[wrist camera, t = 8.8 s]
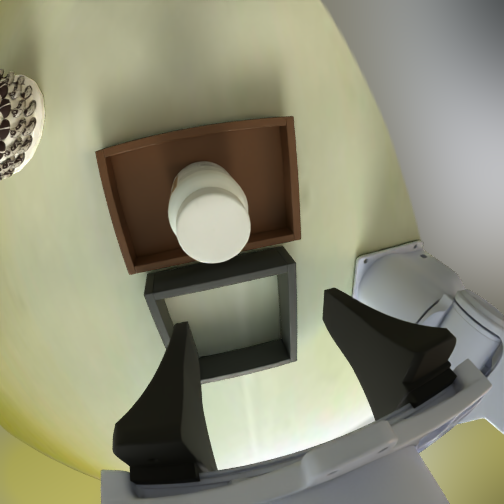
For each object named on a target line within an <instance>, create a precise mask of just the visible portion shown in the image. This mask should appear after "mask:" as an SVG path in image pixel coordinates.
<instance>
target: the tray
mask: <svg viewBox="0 0 504 504" xmlns="http://www.w3.org/2000/svg"><path fill="white" fill-rule="evenodd" d="M95 153H96V158H97V163H98V168H99V172H100V177H101V181H102V185H103V189H104V194H105V197H106V201H107V205H108V209H109V213H110V216H111V220H112V223H113V227H114V230H115V233H116V237H117V240H118V243H119V246H120V249H121V252H122V255H123V258H124V261H125V264H126V267H127V270H128V273H129V275H132V274H136V273H141V272H146V271H151V270H155V269H160V268H165V267H170V266H175V265H179V264H184V263H189V262H194V261H197V260H195V259H193V258H192V257H190V256H189V255H188V254H186V253H185V252H184V250H183V249H182V247H181V246H180V244H179V242H178V239H177V236H176V235H175V233H174V232H173V230H172V228H171V225H170V222H169V217H168V207H169V199H170V194H171V189H172V185H173V182H174V179H175V178H176V176H177V175H178V173H179V172H180V171H181V170H182V169H183V168H185V167H186V166H188V165H190V164H192V163H195V162H200V161H207V162H212V163H215V164H217V165H219V166H221V167H222V168H224V169H225V170H226V171H227V172H228V173H229V175H230V176H231V177H232V178H233V179H234V180H235V181H236V182H237V184H238V185H239V186H240V187H241V189H242V190H243V192H244V194H245V196H246V199H247V202H248V215H249V218H250V223H251V231H250V236H249V239H248V241H247V243H246V245H245V246H244V248H243V249H242V250H241V251H240V252H242V251H247V250H252V249H256V248H261V247H266V246H271V245H276V244H281V243H286V242H290V241H295V240H300V239H301V225H300V202H299V183H298V167H297V153H296V140H295V128H294V117H293V116H288V117H272V118H260V119H250V120H241V121H232V122H225V123H218V124H211V125H205V126H199V127H193V128H187V129H182V130H177V131H172V132H167V133H162V134H158V135H153V136H149V137H145V138H141V139H137V140H133V141H129V142H125V143H122V144H118V145H114V146H111V147H108V148H104V149H101V150H98V151H96V152H95Z"/></svg>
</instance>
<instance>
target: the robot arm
mask: <svg viewBox="0 0 504 504" xmlns="http://www.w3.org/2000/svg"><path fill="white" fill-rule="evenodd" d="M365 259H366V260H365ZM364 260H365V261H364ZM323 321H324V323H325V325H326V328H327V329H328V331H329V333H330V335H331V337H332V338H333V340H334V341H335V343H336V344H337V346H338V347H339V348H340V350H341V351H342V353H343V354H344V356H345V357H346V359H347V360H348V362H349V363H350V365H351V366H352V368H353V370H354V372H355V374H356V376H357V378H358V380H359V382H360V384H361V386H362V388H363V390H364V393H365V395H366V397H367V400H368V402H369V404H370V407H371V409H372V412H373V415H374V418H375V421H374V422H372V423H370V424H368V425H366V426H364V427H362V428H359V429H357V430H355V431H353V432H350V433H348V434H346V435H343V436H341V437H338V438H336V439H333V440H331V441H328V442H325V443H323V444H320V445H317V446H314V447H311V448H308V449H305V450H302V451H299V452H296V453H292V454H289V455H286V456H282V457H279V458H275V459H271V460H267V461H263V462H259V463H255V464H250V465H245V466H240V467H235V468H230V469H224V470H217V466H216V463H215V459H214V455H213V451H212V448H211V444H210V439H209V435H208V431H207V426H206V421H205V416H204V411H203V404H202V392H201V377H200V365H199V359H198V353H197V348H196V345H195V342H194V339H193V336H192V333H191V330H190V327H189V324H188V321H187V322H182V323H176V324H175V325H174V329H173V332H172V335H171V338H170V341H169V344H168V347H167V349H166V352H165V354H164V357H163V359H162V361H161V363H160V365H159V367H158V369H157V371H156V373H155V375H154V377H153V378H152V380H151V382H150V384H149V385H148V387H147V388H146V390H145V391H144V393H143V394H142V395H141V397H140V398H139V399H138V400H137V402H136V403H135V404H134V405H133V407H132V408H131V409H130V410H129V411H128V412H127V413H126V414H125V415H124V416H123V417H122V418H121V419H120V420H119V421H118V422H117V423H116V424H115V429H114V434H113V453H114V454H115V455H116V456H117V457H118V458H119V459H121V460H122V461H123V462H125V463H126V464H127V465H129V466H130V472H127V471H120V470H101V504H450V503H449V502H448V500H447V498H446V497H445V495H444V493H443V492H442V490H441V488H440V487H439V485H438V484H437V482H436V480H435V479H434V477H433V475H432V474H431V473H430V471H429V469H428V467H427V466H426V464H425V463H424V461H423V459H422V458H421V456H420V455H419V453H420V452H422V451H423V450H424V449H426V448H427V447H429V446H430V445H431V444H433V443H434V442H435V441H437V440H438V439H439V438H440V437H442V436H443V435H444V434H446V433H447V432H448V431H449V430H451V429H452V428H453V427H454V426H455V425H457V424H460V423H465V422H469V421H473V420H476V419H481V418H485V419H486V420H487V421H489V422H490V423H491V424H492V425H493V426H495V427H496V428H497V429H498V430H499V431H500V432H502V433H503V434H504V315H503V314H502V313H501V312H500V311H499V310H498V309H497V308H495V307H494V306H493V305H491V304H490V303H489V302H488V301H487V300H485V299H484V298H482V297H481V296H479V295H478V294H476V293H474V292H473V291H471V290H468V289H465V287H464V284H463V282H462V280H461V279H460V277H459V276H458V275H457V274H456V273H455V272H454V271H453V270H452V269H450V268H449V267H447V266H446V265H444V264H443V263H442V262H440V261H439V260H438V259H436V258H435V257H433V256H432V255H430V254H429V253H427V252H426V251H424V250H423V241H421V240H418V241H415V242H411V243H408V244H404V245H400V246H397V247H393V248H389V249H385V250H382V251H378V252H374V253H370V254H366V255H363V256H360V257H358V258H357V260H356V266H355V276H354V286H353V294H352V297H351V296H349V295H347V294H346V293H344V292H342V291H340V290H338V289H336V288H331V289H327V290H324V306H323Z"/></svg>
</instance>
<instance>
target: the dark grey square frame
mask: <svg viewBox="0 0 504 504" xmlns="http://www.w3.org/2000/svg"><path fill="white" fill-rule="evenodd" d="M273 275H277V278H278V292H279V308H280V324H281V339H279V340H275V341H271V342H267V343H264V344H260V345H256V346H251V347H247V348H243V349H239V350H235V351H230V352H226V353H221V354H216V355H211V356H207V357H202V358H198V359H199V365H200V377H201V384H205V383H210V382H215V381H220V380H225V379H229V378H234V377H238V376H242V375H247V374H251V373H255V372H259V371H263V370H266V369H270V368H274V367H278V366H281V365H285V364H288V363H290V362H295V361H297V285H296V262H295V261H294V260H293V258H292V257H291V256H290V255H289V253H288V252H287V251H286V250H285V248H284V247H283V246H281V247H276V248H271V249H267V250H262V251H257V252H252V253H247V254H243V255H238V256H234V257H233V258H231V259H229V260H227V261H224V262H220V263H199V264H195V265H190V266H185V267H180V268H175V269H171V270H166V271H161V272H156V273H151V274H147V279H146V285H145V291H144V297H145V299H146V302H147V304H148V307H149V310H150V312H151V315H152V317H153V319H154V322H155V324H156V327H157V329H158V331H159V334H160V336H161V338H162V341H163V343H164V345H165V348H166V349H167V347H168V344H169V341H170V338H171V335H172V332H173V329H174V326H173V323H172V320H171V318H170V315H169V312H168V309H167V306H166V304H165V301H164V299H165V298H170V297H175V296H180V295H185V294H190V293H195V292H200V291H204V290H209V289H214V288H219V287H223V286H228V285H232V284H237V283H242V282H246V281H251V280H255V279H260V278H264V277H268V276H273Z"/></svg>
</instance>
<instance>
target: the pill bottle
mask: <svg viewBox="0 0 504 504" xmlns="http://www.w3.org/2000/svg"><path fill="white" fill-rule="evenodd" d="M168 217H169V222H170V225H171V228H172V230H173V232H174V233H175V235H176V236H177V239H178V242H179V244H180V246H181V247H182V249H183V250H184V252H185V253H186V254H188V255H189V256H190V257H192V258H193V259H195V260H197V261H200V262H203V263H220V262H224V261H227V260H229V259H231V258H233V257H234V256H236V255H237V254H238V253H239V252H240V251H241V250H242V249H243V248H244V246H245V245H246V243H247V241H248V239H249V236H250V231H251V223H250V218H249V215H248V202H247V199H246V196H245V194H244V192H243V190H242V189H241V187H240V186H239V185H238V184H237V182H236V181H235V180H234V179H233V178H232V177H231V176H230V175H229V173H228V172H227V171H226V170H225V169H224V168H222V167H221V166H219V165H217V164H215V163H212V162H207V161H200V162H195V163H192V164H190V165H188V166H186V167H185V168H183V169H182V170H181V171H180V172H179V173H178V175H177V176H176V178H175V179H174V182H173V185H172V189H171V194H170V199H169V207H168Z"/></svg>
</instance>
